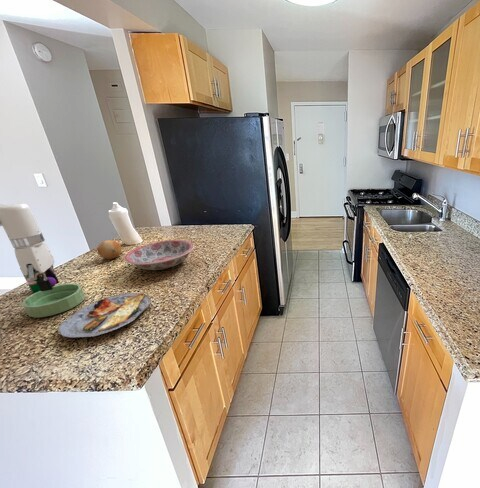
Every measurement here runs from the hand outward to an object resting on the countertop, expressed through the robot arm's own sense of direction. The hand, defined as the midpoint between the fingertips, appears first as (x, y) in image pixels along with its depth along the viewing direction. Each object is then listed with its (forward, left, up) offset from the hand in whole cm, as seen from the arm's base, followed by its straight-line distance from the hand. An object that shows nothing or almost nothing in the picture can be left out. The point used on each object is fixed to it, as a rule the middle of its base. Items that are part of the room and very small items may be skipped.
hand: (50, 286), depth 95 cm
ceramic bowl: (+33, +22, -8) cm, 40 cm away
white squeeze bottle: (+11, +65, -8) cm, 66 cm away
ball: (0, 0, +2) cm, 2 cm away
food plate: (+20, -17, -8) cm, 27 cm away
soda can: (-12, +18, -8) cm, 23 cm away
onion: (+7, +43, -8) cm, 44 cm away
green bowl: (0, 0, -8) cm, 8 cm away
